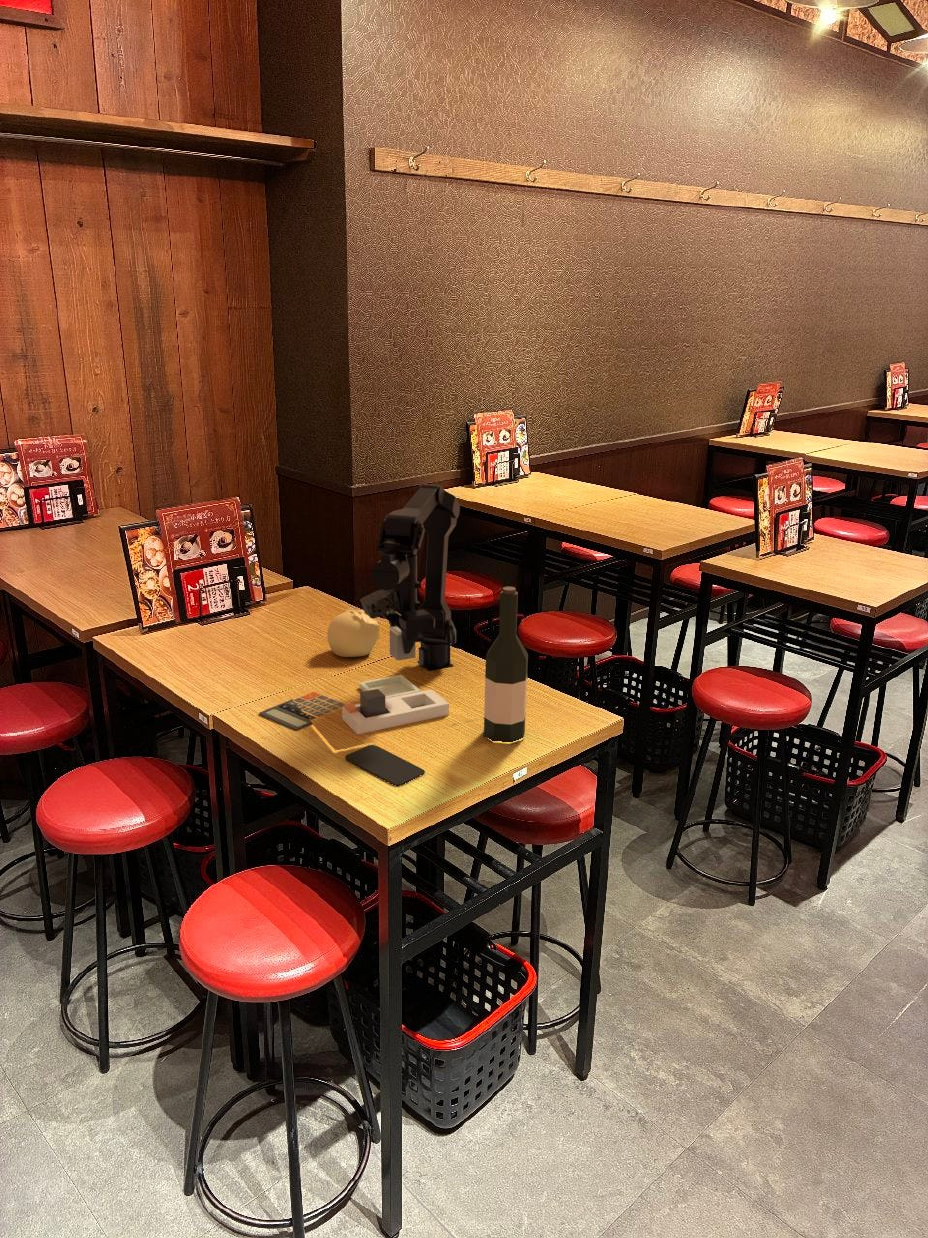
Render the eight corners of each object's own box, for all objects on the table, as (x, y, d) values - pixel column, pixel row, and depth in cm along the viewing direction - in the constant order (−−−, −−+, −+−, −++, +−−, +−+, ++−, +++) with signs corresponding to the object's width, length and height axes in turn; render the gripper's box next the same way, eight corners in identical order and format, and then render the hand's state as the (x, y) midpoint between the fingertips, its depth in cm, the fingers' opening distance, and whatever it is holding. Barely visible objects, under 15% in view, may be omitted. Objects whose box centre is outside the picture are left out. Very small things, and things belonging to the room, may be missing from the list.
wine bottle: (512, 748, 171) (518, 598, 162) (475, 737, 176) (478, 590, 166) (533, 732, 178) (539, 586, 168) (496, 721, 182) (500, 579, 172)
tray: (401, 681, 201) (401, 674, 200) (420, 698, 193) (420, 690, 192) (359, 689, 196) (359, 682, 196) (377, 706, 188) (377, 699, 188)
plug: (407, 651, 188) (407, 624, 186) (415, 657, 185) (415, 630, 183) (389, 654, 186) (389, 626, 185) (397, 660, 183) (397, 632, 181)
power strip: (431, 702, 191) (431, 674, 189) (448, 717, 184) (449, 687, 182) (342, 720, 182) (341, 691, 179) (357, 736, 175) (356, 706, 173)
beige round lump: (387, 655, 216) (386, 613, 212) (341, 665, 209) (340, 622, 206) (364, 641, 225) (363, 600, 221) (320, 650, 218) (318, 608, 215)
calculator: (351, 704, 188) (296, 728, 177) (351, 708, 188) (296, 733, 177) (313, 689, 195) (258, 712, 184) (313, 693, 195) (258, 716, 184)
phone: (397, 786, 157) (342, 756, 166) (397, 790, 157) (342, 760, 167) (427, 771, 162) (372, 743, 171) (427, 775, 162) (372, 747, 172)
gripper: (348, 569, 185) (350, 641, 190) (382, 593, 169) (383, 671, 174) (398, 564, 189) (398, 634, 194) (436, 587, 174) (435, 662, 179)
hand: (402, 650), depth 185 cm, fingers closed on plug, 4 cm apart
